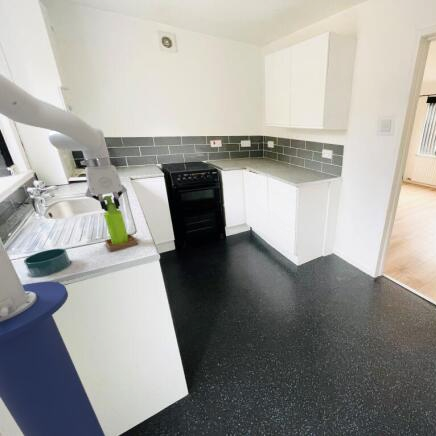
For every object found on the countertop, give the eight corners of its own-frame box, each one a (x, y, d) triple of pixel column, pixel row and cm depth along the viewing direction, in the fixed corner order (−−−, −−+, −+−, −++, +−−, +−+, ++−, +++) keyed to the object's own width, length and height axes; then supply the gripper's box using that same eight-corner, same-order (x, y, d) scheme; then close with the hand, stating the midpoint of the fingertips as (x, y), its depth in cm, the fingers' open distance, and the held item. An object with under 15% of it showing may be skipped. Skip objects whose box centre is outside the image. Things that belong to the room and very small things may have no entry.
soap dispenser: (110, 246, 99) (95, 199, 92) (114, 240, 105) (101, 195, 98) (126, 244, 101) (114, 197, 94) (129, 237, 107) (118, 193, 100)
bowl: (71, 267, 86) (67, 255, 84) (29, 280, 79) (23, 267, 77) (69, 257, 93) (64, 245, 92) (29, 268, 86) (24, 255, 85)
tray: (137, 244, 104) (136, 240, 103) (110, 251, 97) (109, 247, 97) (131, 237, 110) (130, 233, 109) (106, 244, 104) (104, 240, 103)
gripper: (71, 166, 84) (87, 216, 90) (126, 161, 95) (137, 206, 101) (69, 164, 89) (84, 212, 95) (121, 160, 100) (132, 203, 106)
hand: (111, 208), depth 98 cm, fingers closed on soap dispenser, 3 cm apart
